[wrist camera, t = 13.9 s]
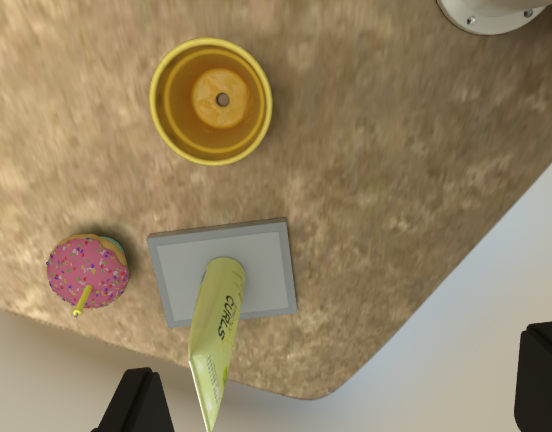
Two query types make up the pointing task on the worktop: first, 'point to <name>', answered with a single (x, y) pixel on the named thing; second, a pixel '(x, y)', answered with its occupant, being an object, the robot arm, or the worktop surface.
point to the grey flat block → (233, 244)
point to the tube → (215, 332)
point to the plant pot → (210, 101)
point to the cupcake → (88, 271)
